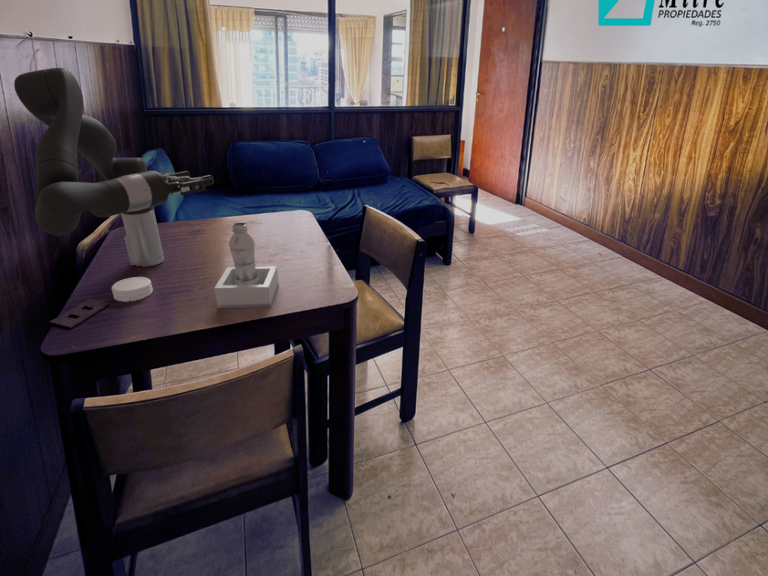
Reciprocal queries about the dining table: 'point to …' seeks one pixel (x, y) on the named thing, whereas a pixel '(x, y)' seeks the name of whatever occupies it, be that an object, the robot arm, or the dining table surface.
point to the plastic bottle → (243, 255)
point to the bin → (247, 289)
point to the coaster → (132, 289)
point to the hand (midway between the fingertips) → (201, 177)
